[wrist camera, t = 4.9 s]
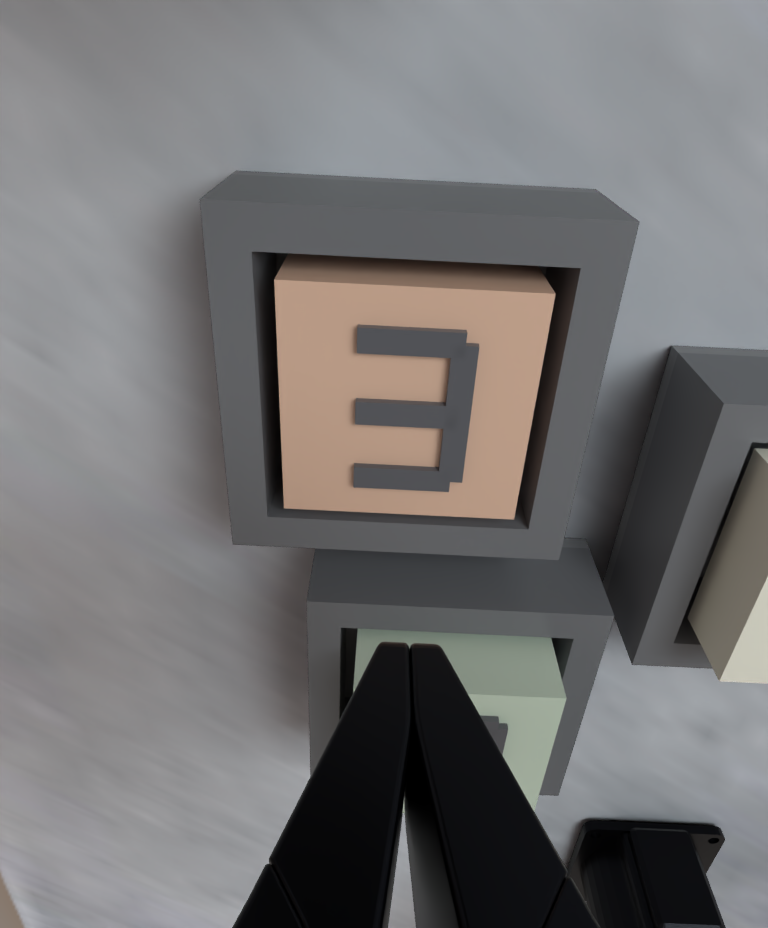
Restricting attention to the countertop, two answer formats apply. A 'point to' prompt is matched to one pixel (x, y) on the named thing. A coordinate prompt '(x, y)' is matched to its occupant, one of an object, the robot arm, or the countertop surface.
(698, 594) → the tile
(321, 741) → the tile collars
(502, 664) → the tile
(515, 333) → the tile
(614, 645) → the countertop surface
